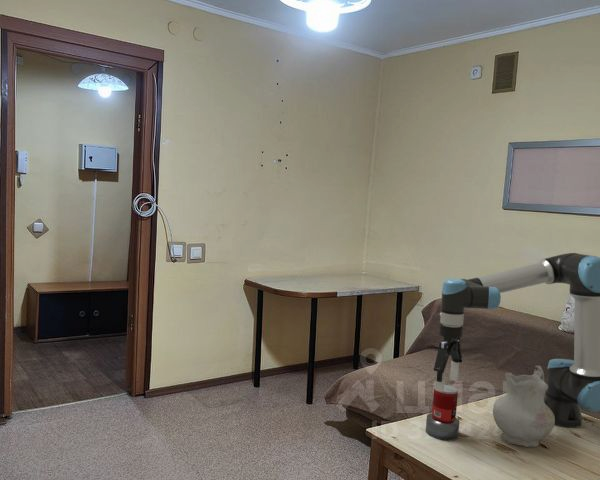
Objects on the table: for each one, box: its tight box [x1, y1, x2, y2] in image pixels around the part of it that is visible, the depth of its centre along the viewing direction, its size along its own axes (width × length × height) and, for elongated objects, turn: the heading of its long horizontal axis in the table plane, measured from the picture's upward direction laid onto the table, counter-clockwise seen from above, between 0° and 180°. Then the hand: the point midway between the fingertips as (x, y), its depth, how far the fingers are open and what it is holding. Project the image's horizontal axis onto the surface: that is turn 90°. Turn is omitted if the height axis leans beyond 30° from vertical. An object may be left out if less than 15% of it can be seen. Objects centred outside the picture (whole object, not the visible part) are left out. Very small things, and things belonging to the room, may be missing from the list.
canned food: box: [431, 383, 459, 423], centre depth 178 cm, size 8×8×11 cm
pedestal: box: [425, 412, 460, 442], centre depth 179 cm, size 11×11×5 cm
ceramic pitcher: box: [492, 364, 555, 448], centre depth 178 cm, size 22×20×25 cm
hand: (446, 385), depth 178 cm, fingers open, 13 cm apart
